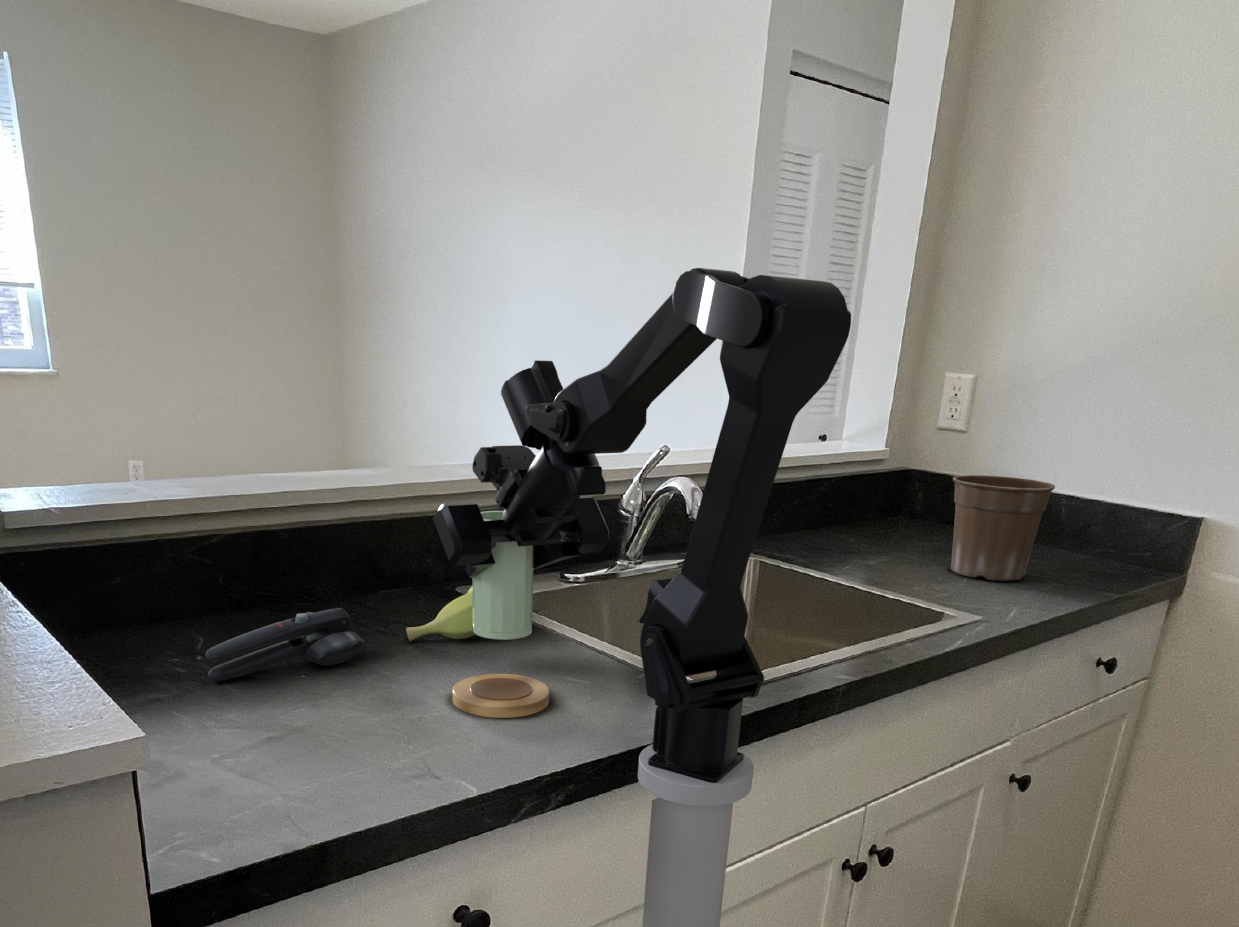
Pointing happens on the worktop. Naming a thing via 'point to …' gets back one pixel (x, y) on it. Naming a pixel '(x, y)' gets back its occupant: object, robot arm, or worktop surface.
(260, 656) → the can opener
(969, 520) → the plant pot
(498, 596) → the tumbler
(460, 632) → the banana
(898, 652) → the worktop surface
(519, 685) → the coaster
